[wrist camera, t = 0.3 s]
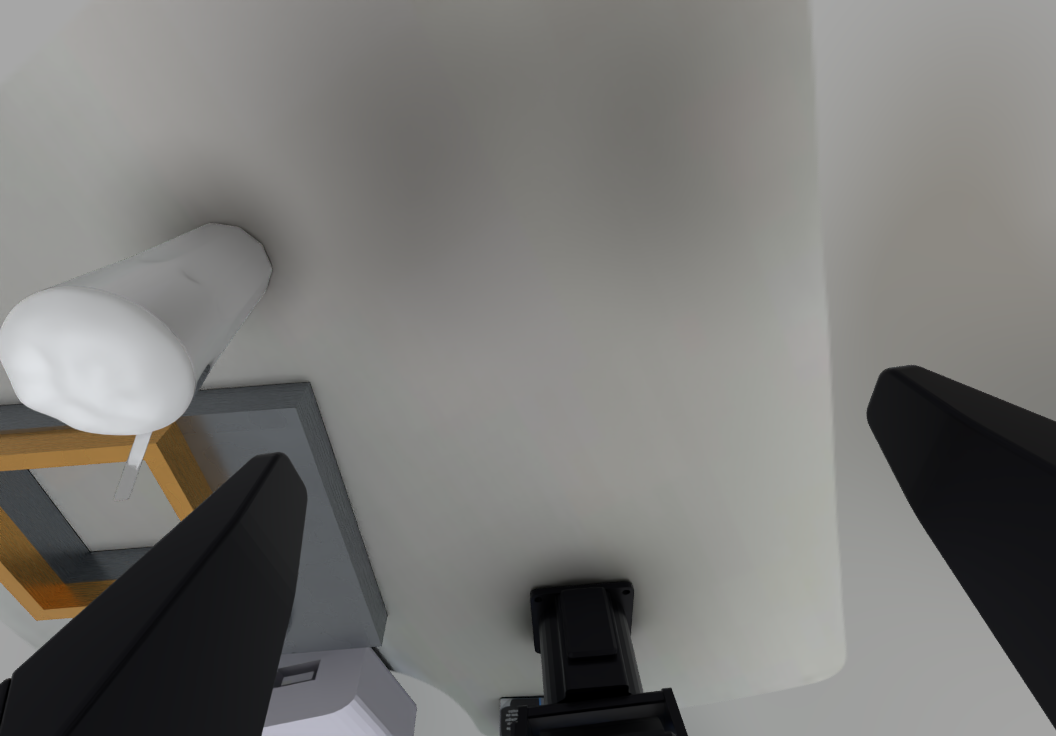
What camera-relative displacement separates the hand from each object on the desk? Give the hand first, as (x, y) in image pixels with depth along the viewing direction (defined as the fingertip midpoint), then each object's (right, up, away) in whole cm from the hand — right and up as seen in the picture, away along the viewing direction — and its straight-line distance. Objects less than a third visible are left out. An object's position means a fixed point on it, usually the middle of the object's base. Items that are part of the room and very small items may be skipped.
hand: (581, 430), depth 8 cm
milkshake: (-13, +5, +13) cm, 19 cm away
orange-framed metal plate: (-18, -8, +21) cm, 29 cm away
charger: (-14, -24, +31) cm, 42 cm away
